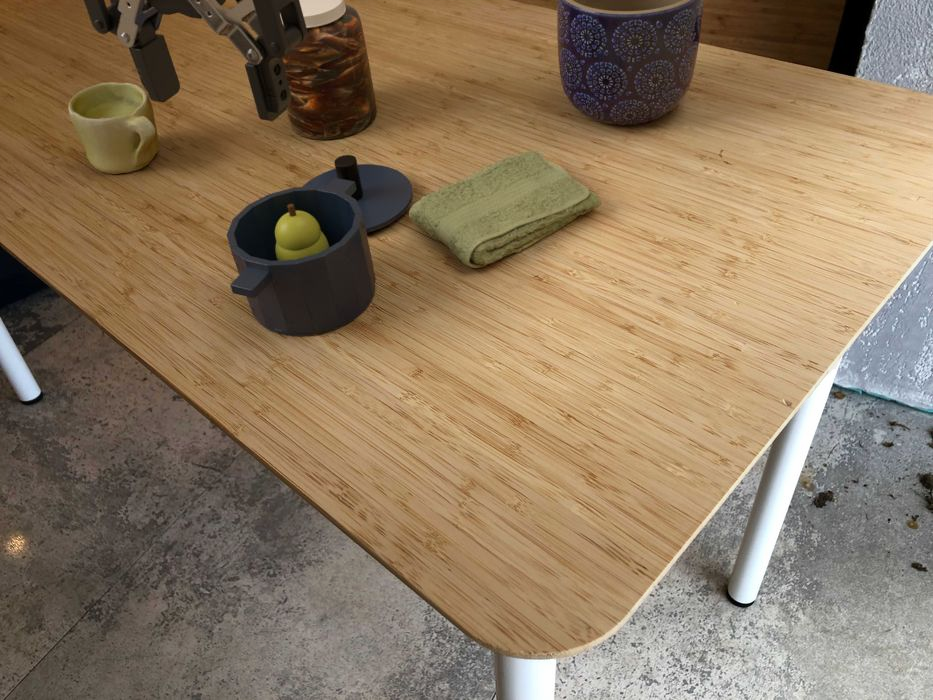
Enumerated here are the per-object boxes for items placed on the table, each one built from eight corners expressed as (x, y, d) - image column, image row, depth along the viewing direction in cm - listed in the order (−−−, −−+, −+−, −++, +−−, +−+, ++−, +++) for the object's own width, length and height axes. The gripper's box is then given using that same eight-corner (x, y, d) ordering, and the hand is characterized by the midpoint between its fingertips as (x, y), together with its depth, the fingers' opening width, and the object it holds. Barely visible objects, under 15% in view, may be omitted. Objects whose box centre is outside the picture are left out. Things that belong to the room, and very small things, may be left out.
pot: (209, 337, 81) (181, 266, 75) (309, 232, 92) (291, 163, 86) (319, 368, 76) (298, 296, 70) (409, 254, 88) (398, 183, 82)
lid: (271, 227, 93) (258, 183, 89) (334, 165, 102) (324, 122, 98) (377, 250, 88) (368, 205, 85) (434, 183, 97) (428, 138, 93)
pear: (278, 300, 83) (252, 215, 76) (305, 270, 86) (282, 186, 79) (321, 311, 81) (298, 225, 74) (347, 280, 84) (328, 195, 78)
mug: (57, 147, 107) (55, 74, 100) (137, 140, 113) (140, 70, 107) (97, 202, 101) (98, 127, 95) (179, 190, 107) (185, 120, 101)
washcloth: (607, 210, 90) (608, 184, 88) (473, 280, 84) (470, 254, 81) (530, 163, 98) (529, 138, 96) (403, 222, 92) (398, 197, 90)
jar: (396, 107, 111) (379, -9, 101) (336, 149, 104) (310, 29, 94) (331, 88, 117) (308, -24, 106) (270, 126, 110) (239, 11, 100)
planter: (632, 154, 98) (639, 27, 88) (530, 109, 108) (526, -10, 97) (720, 100, 105) (736, -23, 95) (618, 63, 115) (622, -53, 105)
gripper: (-29, -174, 43) (94, 118, 54) (194, -170, 38) (280, 152, 49) (76, -208, 48) (170, 67, 59) (287, -209, 43) (346, 92, 54)
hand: (219, 105), depth 54 cm, fingers open, 8 cm apart
